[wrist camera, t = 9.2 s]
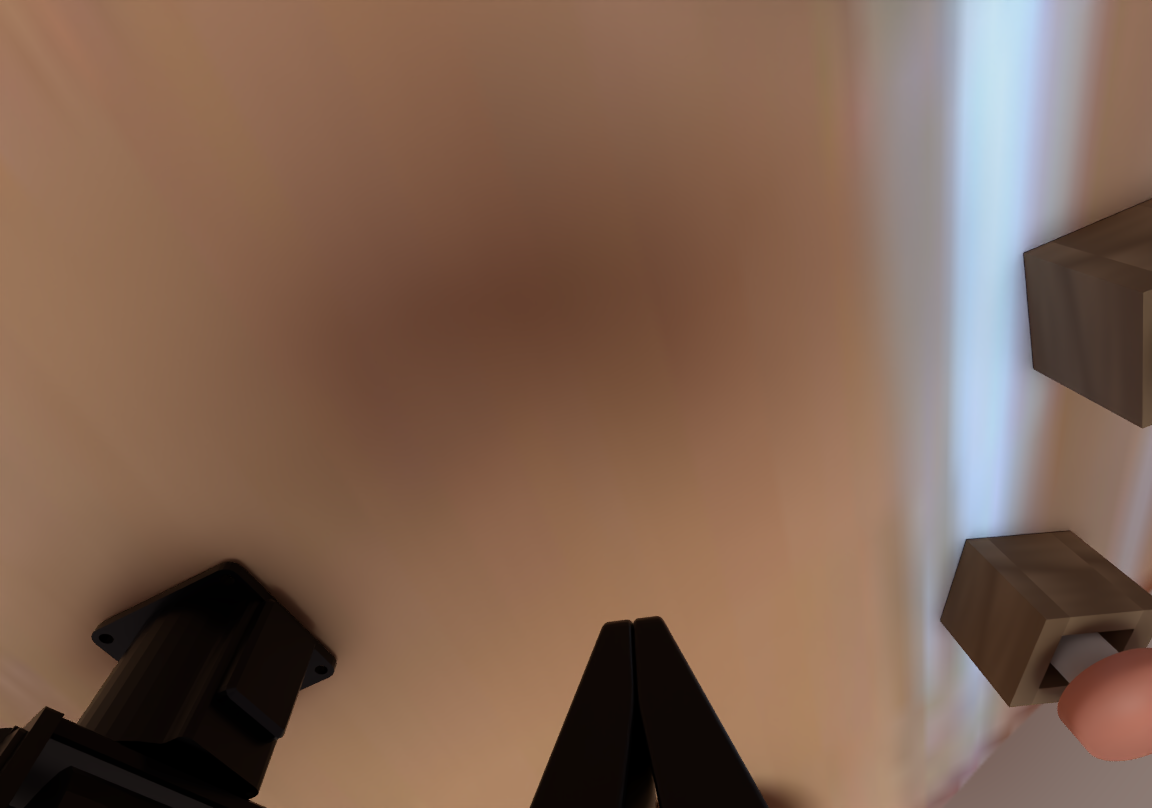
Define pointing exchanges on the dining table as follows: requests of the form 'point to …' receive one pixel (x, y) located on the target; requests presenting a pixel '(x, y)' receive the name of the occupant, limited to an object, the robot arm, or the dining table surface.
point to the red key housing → (1039, 609)
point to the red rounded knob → (1106, 696)
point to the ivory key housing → (1097, 312)
